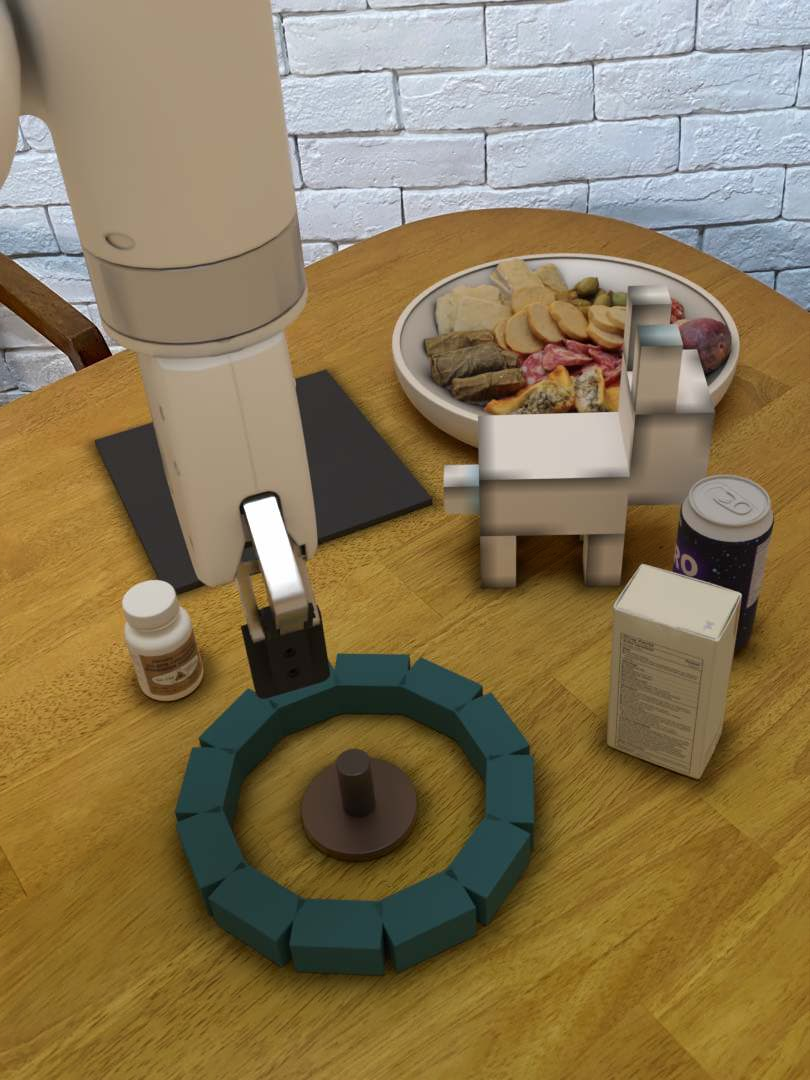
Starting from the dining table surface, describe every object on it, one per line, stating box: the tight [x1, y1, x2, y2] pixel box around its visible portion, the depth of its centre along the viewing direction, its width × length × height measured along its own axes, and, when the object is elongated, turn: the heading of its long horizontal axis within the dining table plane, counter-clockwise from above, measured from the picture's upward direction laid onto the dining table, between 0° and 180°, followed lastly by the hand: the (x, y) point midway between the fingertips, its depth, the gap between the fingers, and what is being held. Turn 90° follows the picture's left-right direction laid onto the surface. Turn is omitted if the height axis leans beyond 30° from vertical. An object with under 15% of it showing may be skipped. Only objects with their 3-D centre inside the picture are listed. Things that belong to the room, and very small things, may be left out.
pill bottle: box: [121, 579, 204, 702], centre depth 75 cm, size 4×4×8 cm
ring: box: [174, 653, 535, 976], centre depth 67 cm, size 21×21×3 cm
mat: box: [94, 369, 433, 595], centre depth 94 cm, size 22×22×1 cm
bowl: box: [391, 252, 741, 449], centre depth 99 cm, size 30×30×8 cm
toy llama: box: [443, 285, 716, 589], centre depth 78 cm, size 8×18×20 cm, turn 88°
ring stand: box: [300, 748, 419, 862], centre depth 67 cm, size 7×7×5 cm
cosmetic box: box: [606, 563, 742, 780], centre depth 67 cm, size 6×4×12 cm
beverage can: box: [671, 474, 775, 653], centre depth 73 cm, size 6×6×12 cm
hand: (266, 610), depth 51 cm, fingers open, 9 cm apart
